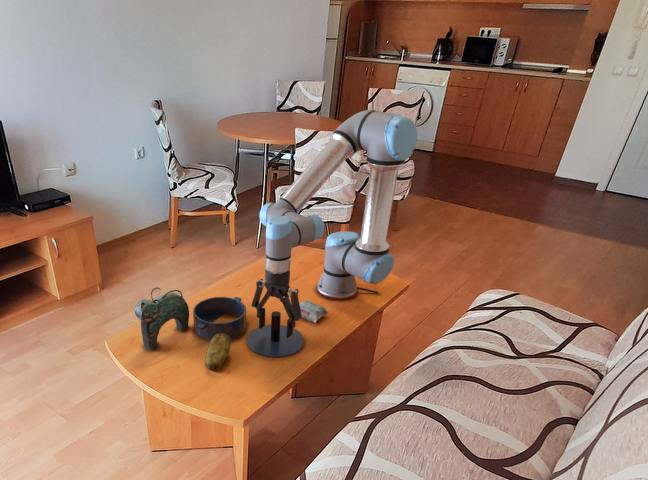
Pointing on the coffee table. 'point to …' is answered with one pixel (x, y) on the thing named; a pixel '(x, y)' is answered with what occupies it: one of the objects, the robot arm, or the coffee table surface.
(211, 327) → the pot
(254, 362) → the coffee table surface
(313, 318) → the packaged food
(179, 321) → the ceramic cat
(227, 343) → the potato
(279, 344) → the lid
